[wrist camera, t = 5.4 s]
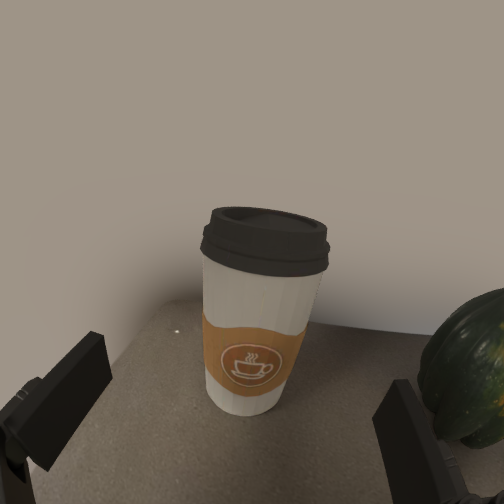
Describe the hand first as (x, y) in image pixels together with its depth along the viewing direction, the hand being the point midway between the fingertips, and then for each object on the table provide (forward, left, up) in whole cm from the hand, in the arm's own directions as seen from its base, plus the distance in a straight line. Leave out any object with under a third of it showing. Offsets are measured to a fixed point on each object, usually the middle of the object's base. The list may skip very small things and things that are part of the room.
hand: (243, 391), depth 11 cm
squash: (+22, +6, -9) cm, 25 cm away
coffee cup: (0, +9, -9) cm, 13 cm away
